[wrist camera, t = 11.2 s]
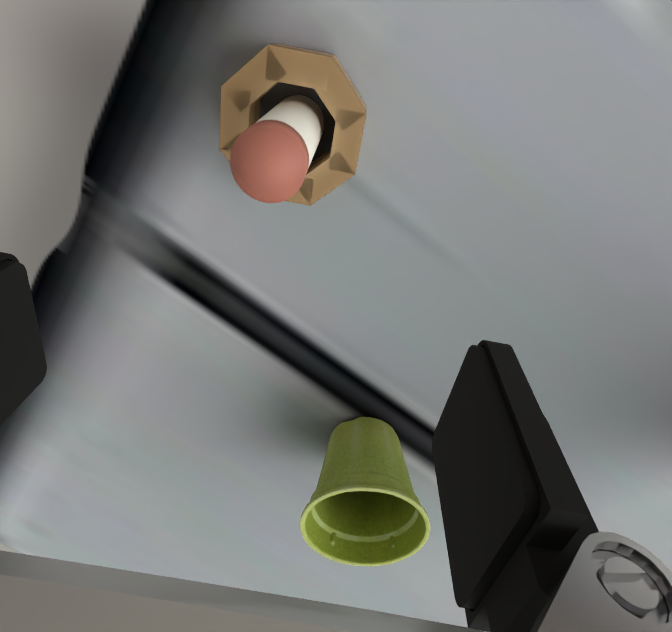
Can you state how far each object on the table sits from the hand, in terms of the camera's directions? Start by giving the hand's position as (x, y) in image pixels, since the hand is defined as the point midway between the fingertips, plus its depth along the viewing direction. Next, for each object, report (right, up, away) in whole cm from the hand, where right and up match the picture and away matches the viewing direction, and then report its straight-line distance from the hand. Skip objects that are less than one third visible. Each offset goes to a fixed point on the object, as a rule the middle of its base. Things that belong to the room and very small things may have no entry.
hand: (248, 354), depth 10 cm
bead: (0, +12, +17) cm, 21 cm away
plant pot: (+4, -10, +30) cm, 32 cm away
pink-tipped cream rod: (0, +12, +17) cm, 21 cm away
